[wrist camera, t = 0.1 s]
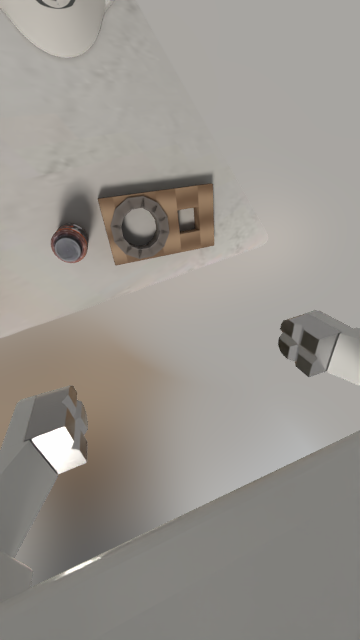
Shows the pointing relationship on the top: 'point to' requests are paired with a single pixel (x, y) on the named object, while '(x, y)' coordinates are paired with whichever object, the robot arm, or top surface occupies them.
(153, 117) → the top surface
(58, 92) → the top surface
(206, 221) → the bore board
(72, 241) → the supplement bottle
